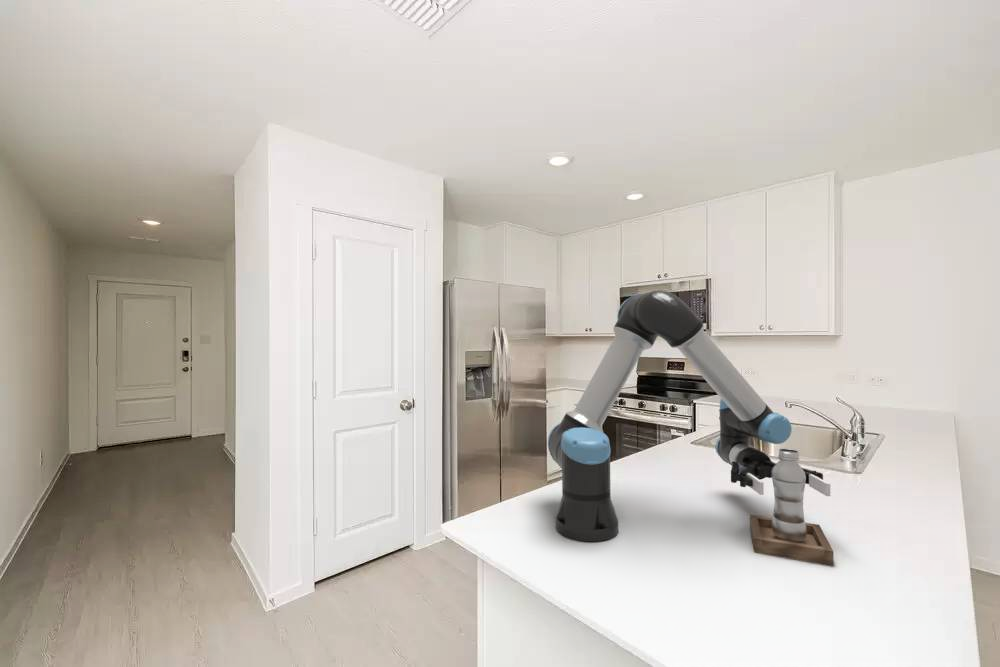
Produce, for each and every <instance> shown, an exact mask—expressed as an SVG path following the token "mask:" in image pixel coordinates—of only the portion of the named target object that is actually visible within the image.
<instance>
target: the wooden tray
mask: <svg viewBox="0 0 1000 667" xmlns="http://www.w3.org/2000/svg"><path fill="white" fill-rule="evenodd" d="M772 518H773V517H768V516H761V515H753V514H749V530H750V536H751V540H752V541H751V542H752V547H753V553H756V554H762V555H768V556H774V557H778V558H779V557H780V558H783V559H790V560H797V561H802V562H807V563H813V564H817V565H818V564H819V565H825V566H830V567H834V566H835V565H834V550H833V548H832V546H831V543H829V541H828V538H827V537H826V535H825V533H824V531H823V529H822V527H821V525H820V524H817V523H809V522H805V524H806V530H807V534H806V538H805V540H804V541H803V542H801V543H796V542H790V541H784V540H780V539H778V538H777V537H776V536H775V535H774V533H773V531H772Z"/></svg>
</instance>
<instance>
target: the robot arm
mask: <svg viewBox="0 0 1000 667" xmlns="http://www.w3.org/2000/svg"><path fill="white" fill-rule="evenodd" d="M616 317H617V321H616V322H615V325H614V326H613V328H612V330H613V333H614V337H613V339H612V341H611V343H610V345H609V346H608V348H607V349H606V352H605V354H604V355H603V357H602V359H601V360H600V362H599V365H598V366H597V367H596V369H595V372H594V373H593V375H592V377H591V379H590V381H589V382H588V385H587V386H586V388H585V390H584V392H583V393H582V395H581V397H580V399H579V401H578V402H577V404H576V406H575V408H574V409H573V410H570V411H566V412H565V415H564V416H563V418H562V420H561V422H560V423H559V422H558V424H556V425H555V426H553V428H552V429H551V430H550V432H549V433H548V437H547V438H548V439H547V448H548V451H549V454H550V456H551V458H552V460H553V461H554V462H555V463H556V464H557V465H558V466H559V467H560V469H561V484H562V485H561V487H562V488H561V489H562V490H561V491H562V495H561V499H560V502H559V504H558V507H557V508H558V509H557V512H556V514H555V529H556V530H557V532H558V533H560V534H561V535H562V536H565V537H567V538H569V539H571V540H576V541H580V542H590V543H591V542H603V541H607V540H611V539H613V538H615V537H616V536H617V535H618V533H619V519H618V516H617V513H616V510H615V507H614V505H613V502H612V497H611V453H612V449H611V446H610V444H611V443H610V439H609V436H608V435H607V434H605V433H604V430H603V425H604V424H605V423H604V422H605V421H606V419H607V417H608V416H609V414H610V412H611V410H612V409H613V406H614V405H615V403H616V401H617V399H618V397H619V395H620V393H621V392H622V390H623V388H624V386H625V385H626V383H627V381H628V379H629V377H630V375H631V373H632V372H633V370H634V368H635V366H636V364H637V362H638V361H639V359H640V357H641V355H642V353H643V352H644V351H646V350H649V349H651V348H652V347H653V346H654V344H655V341H656V340H657V338H658V337H659V338H661V339H663V340H664V341H665V342H666V343H667V344H668V345H669V346H670V347H671V348H673V349H677V350H678V351H679V352H681V354H682V355H683V356H684V357H685V358H686V360H687V361H688V363H690V364H691V365H692V367H693V368H694V369H695V370H696V371H697V372H698V373H699V374H700V376H701V377H702V379H704V380H705V381H706V383H707V384H708V385H709V386H710V387H711V388H712V389H713V391H714V392H715V393H716V394H717V395H718V397H719V398H720V399H719V409H718V412H719V427H720V428H719V429H720V430H719V431H720V433H719V437H718V438H717V441H716V442H715V444H714V446H715V447H714V448H715V452H716V454H717V455H718V456H719V457H720V459H721V460H722V461H723V462H725V463H726V464H729V465H731V468H730V469H731V470H730V483H731V484H732V483H733V484H737V482H739V487H741V488H747V487H749V488H751V489H752V490H753V491H754V492H756V493H757V494H759V495H761V496H763V495H764V485H765V484H764V483H765V482H764V481H763V479H766V478H768V479H772V473H771V472H772V469H773V467H774V466H775V465H776V464H777V463H778V462H773V461H772V460H771V457H769V455H768V454H766V453H765V452H763V451H761V449H760V450H759V449H758V448H756V447H754V446H752V445H751V443H750V441H751V438H754V439H757V440H760V441H762V442H763V443H769V444H773V445H781V444H783V443H785V442H786V441H787V440H788V439H789V438H790V437H791V435H792V424H791V422H790V420H789V418H787V417H786V416H784V415H782V414H780V413H778V412H774V411H773V410H772V408H770V407H769V406H768V405H767V403H766V402H765V401H764V400H763V399H762V397H761V396H760V395H759V394H758V393H757V392H756V391H755V389H754V388H753V387H752V386H751V385H750V383H749V382H748V380H746V379H745V377H744V376H743V375H742V374H741V373H740V372H739V370H738V369H737V368H736V366H734V364H733V363H732V362H731V361H730V360H729V359H728V357H727V355H725V354H724V353H723V351H722V350H721V349H720V348H719V347H718V346H717V344H716V342H714V341H713V340H712V339H711V337H710V336H709V335H708V333H707V332H706V331H705V330H704V327H705V326H704V324H705V323H703V321H702V320H701V319H700V317H698V316H697V314H696V313H695V312H694V311H693V310H692V308H690V306H688V304H686V303H685V302H684V301H683V300H682V299H681V298H679V297H678V296H677V295H676V294H674V293H672V292H671V291H670V292H669V291H666V290H653V291H648V292H644V293H636V294H634V295H631V296H630V297H628V298H627V299H625V300H624V301H623V302H622V303H621V305H620V306H619V308H618V310H617V316H616ZM801 468H802V469H803V471H804V472H805V475H806V481H805V485H808V486H809V487H810V488H812V489H814V490H815V491H817V492H818V493H820V494H822V495H824V496H825V497H831V496H832V495H831V483H830V482H828V481H826V480H824V473H822V472H818V471H817V470H812V469H808V468H804V467H801Z"/></svg>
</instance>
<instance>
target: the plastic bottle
mask: <svg viewBox="0 0 1000 667" xmlns="http://www.w3.org/2000/svg"><path fill="white" fill-rule="evenodd" d="M799 453H800V452H799V450H796V449H792V448H791V449H790V448H780V449H779V450H778V456H777V458H778V459H779V461H777V462H776V463H777V464H776V465H775V466H774V467H773V469H772V472H771V473H772V478H771V480H772V485H773V496H774V497H773V498H774V507H773V516H772V517H771V518H772V531H773V533H774V535H775V536H776V537H777V538H778V539H780V540H784V541H790V542H796V543H801V542H803V541H804V540H805V538H806V534H807V530H806V524H805V523H806V521H805V515H804V514H805V513H804V512H805V511H804V495H805V494H804V493H805V489H806V488H805V487H806V484H805V481H806V475H805V472H804V471H803V469H802V468H803V467H802V466H801V465H800V464H799V461H800V457H799V456H800V454H799Z"/></svg>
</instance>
